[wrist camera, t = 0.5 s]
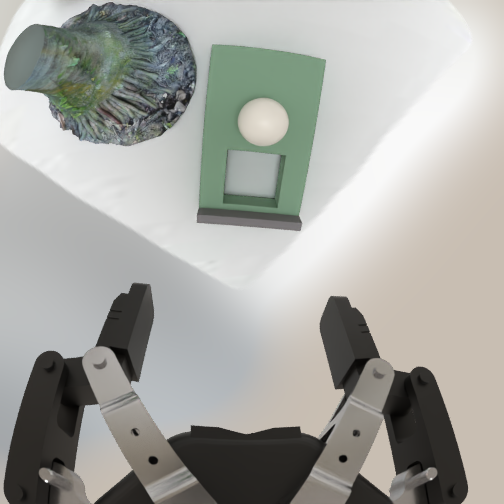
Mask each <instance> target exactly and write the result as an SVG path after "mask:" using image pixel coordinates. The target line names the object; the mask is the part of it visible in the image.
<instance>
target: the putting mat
mask: <svg viewBox="0 0 504 504" xmlns="http://www.w3.org/2000/svg"><path fill="white" fill-rule="evenodd" d="M325 63H326V60H324V59H320V58H315V57H310V56H305V55H300V54H295V53H289V52H283V51H276V50H269V49H261V48H253V47H243V46H230V45H212V52H211V60H210V69H209V78H208V87H207V97H206V108H205V120H204V132H203V146H202V161H201V178H200V198H199V210H198V213H197V223H208V224H222V225H235V226H248V227H261V228H272V229H284V230H295V231H300V230H301V226H302V222H301V220H300V218H299V212H300V208H301V203H302V197H303V192H304V187H305V182H306V177H307V172H308V166H309V161H310V155H311V150H312V144H313V138H314V133H315V127H316V121H317V115H318V109H319V103H320V96H321V90H322V84H323V77H324V70H325ZM257 98H270V99H273V100H275V101H277V102H278V103H280V104H281V105H282V106H283V107H284V109H285V110H286V112H287V115H288V119H289V126H288V130H287V132H286V134H285V136H284V137H283V138H282V139H281V140H280V141H279V142H277V143H275V144H273V145H270V146H257V145H254V144H252V143H250V142H248V141H247V140H246V139H245V138H244V137H243V136H242V134H241V133H240V130H239V127H238V116H239V113H240V111H241V109H242V108H243V107H244V105H245V104H247V103H248V102H249V101H251V100H254V99H257ZM228 149H229V150H240V151H251V152H261V153H270V154H278V155H281V161H280V168H279V174H278V180H277V187H276V193H275V199H272V198H261V197H250V196H239V195H226V194H224V185H225V173H226V162H227V152H228Z"/></svg>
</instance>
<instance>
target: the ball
mask: <svg viewBox="0 0 504 504" xmlns="http://www.w3.org/2000/svg"><path fill="white" fill-rule="evenodd" d="M288 126H289V119H288V115H287V112H286V110H285V109H284V107H283V106H282V105H281V104H280V103H278V102H277V101H275V100H273V99H270V98H257V99H254V100H251V101H249V102H248V103H247V104H245V105H244V107H243V108H242V109H241V111H240V113H239V116H238V127H239V130H240V133H241V134H242V136H243V137H244V138H245V139H246V140H247V141H248V142H250V143H252V144H254V145H257V146H270V145H273V144H275V143H277V142H279V141H280V140H281V139H282V138H283V137H284V136H285V134H286V132H287V130H288Z"/></svg>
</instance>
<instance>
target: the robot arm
mask: <svg viewBox="0 0 504 504" xmlns="http://www.w3.org/2000/svg"><path fill="white" fill-rule="evenodd" d="M153 319H154V307H153V300H152V293H151V287H150V284H142V283H133V284H132V286H131V288H130V291H129V293H128V294H125V293H121V294H120V295H119V296H118V297H117V298H116V299H115V300H114V301H113V304H112V306H111V309H110V312H109V313H108V316H107V319H106V321H105V324H104V326H103V329H102V331H101V334H100V337H99V339H98V342H97V344H96V346H95V347H94V348H92V349H90V350H89V351H87V352H86V353H85V355H84V356H83V357H78V358H67V359H63V357H62V356H61V355H60V354H59V353H58V352H55V351H46V352H44V353H42V354H41V355H40V356H39V357H38V358H37V359H36V361H35V364H34V367H33V370H32V372H31V375H30V378H29V381H28V384H27V387H26V390H25V393H24V396H23V399H22V403H21V406H20V409H19V413H18V417H17V421H16V424H15V428H14V433H13V436H12V441H11V445H10V450H9V455H8V461H7V466H6V472H5V480H4V494H5V497H6V499H7V500H8V502H9V503H10V504H91V503H90V502H89V500H88V499H87V496H86V493H85V486H84V483H83V481H82V479H81V478H80V477H79V476H78V475H77V474H76V473H74V468H75V460H76V452H77V446H78V440H79V434H80V428H81V423H82V417H83V412H84V407H85V405H94V404H99V405H100V408H101V409H100V410H101V413H102V415H103V417H104V419H105V421H106V423H107V425H108V427H109V429H110V431H111V433H112V435H113V436H114V438H115V440H116V442H117V444H118V445H119V447H120V449H121V451H122V453H123V454H124V456H125V458H126V459H127V461H128V462H129V464H130V466H131V467H132V469H133V470H132V471H131V472H130V473H129V474H128V475H126V477H124V478H123V479H122V480H121V481H120V482H118V483H117V484H116V485H115V486H114V487H112V488H111V489H110V490H109V491H108V492H106V493H105V494H104V495H103V496H102V497H100V498H99V499H98V500H97V501H96V502H95V503H94V504H461V503H462V502H463V501H464V499H465V498H466V496H467V493H468V484H467V480H466V475H465V471H464V467H463V463H462V459H461V455H460V451H459V448H458V444H457V441H456V438H455V434H454V431H453V428H452V425H451V421H450V418H449V415H448V413H447V410H446V407H445V404H444V401H443V398H442V396H441V393H440V390H439V387H438V385H437V382H436V380H435V377H434V375H433V374H432V373H431V371H429V370H428V369H427V368H424V367H416V368H414V369H413V370H412V371H411V373H406V372H401V371H396V370H393V367H392V366H391V365H390V364H389V363H388V362H387V361H385V360H383V359H381V358H380V356H379V353H378V351H377V348H376V346H375V343H374V341H373V338H372V336H371V334H370V333H369V332H370V331H369V328H368V326H367V324H366V321H365V319H364V317H363V315H362V314H361V313H360V312H359V311H358V310H357V309H356V308H352V307H351V305H350V302H349V300H348V298H347V297H340V296H331V297H330V298H329V300H328V302H327V305H326V307H325V310H324V312H323V315H322V317H321V321H320V333H321V336H322V340H323V344H324V347H325V351H326V355H327V359H328V363H329V367H330V370H331V375H332V379H333V382H334V386H335V389H344V391H345V394H344V396H343V397H342V399H341V401H340V403H339V404H338V406H337V408H336V410H335V412H334V413H333V415H332V417H331V419H330V421H329V422H328V424H327V426H326V427H325V429H324V430H323V431H322V433H321V434H320V435H319V437H318V438H316V437H313V436H311V435H308V434H304V433H301V431H300V427H283V428H272V429H268V430H264V431H260V432H256V433H251V434H242V433H238V432H234V431H230V430H226V429H223V428H219V427H204V426H191V431H190V432H185V433H181V434H178V435H175V436H173V437H171V438H169V439H167V440H166V439H165V438H164V436H163V435H162V434H161V432H160V430H159V429H158V427H157V426H156V424H155V423H154V421H153V420H152V418H151V416H150V415H149V413H148V412H147V410H146V408H145V407H144V405H143V403H142V402H141V400H140V398H139V397H138V395H137V394H136V393H135V392H134V390H133V388H132V386H131V381H136V382H139V379H140V374H141V369H142V365H143V361H144V356H145V352H146V348H147V344H148V340H149V336H150V331H151V328H152V324H153ZM383 418H384V419H385V423H386V428H387V432H388V436H389V441H390V445H391V450H392V455H393V460H394V465H395V471H396V477H395V478H394V479H393V481H392V484H391V488H390V490H389V492H390V497H388V496H387V495H385V494H384V493H383V492H382V491H380V490H379V489H378V488H377V487H375V486H374V485H373V484H372V483H370V482H369V481H368V480H367V479H365V478H364V477H363V476H362V475H361V474H360V473H359V471H360V469H361V467H362V465H363V463H364V461H365V459H366V457H367V455H368V453H369V451H370V449H371V446H372V444H373V442H374V440H375V437H376V435H377V433H378V430H379V428H380V425H381V423H382V421H383Z"/></svg>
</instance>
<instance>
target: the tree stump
mask: <svg viewBox="0 0 504 504" xmlns="http://www.w3.org/2000/svg"><path fill="white" fill-rule="evenodd" d="M4 80H5V84H6V86H7V87H8V88H9V89H10V90H25V91H32V92H40V93H43V94H44V95H45V96H47V97H48V98H49V103H50V105H49V108H50V110H51V112H52V116H53V117H54V118H56V119H57V120H58V121H59V122H60V128H62V129H63V131H64V130H69V129H70V130H72V133H73V135H76V136H77V137H79V140H80V141H82V140H87V141H89V142H93V143H95V144H99V143H105V144H109V143H113V144H116V145H123V146H131V145H134V144H137V143H140V142H142V141H145V140H148V139H151V138H154V137H158V136H161V135H162V134H163V133H164V132H165V131H166V130H167V129H168V128H170V127H172V126H173V124H174V123H175V122H176V121H177V120H178V119H179V117H180V116H181V114H182V113H184V111H185V109H186V107H187V105H188V103H189V100H190V98H191V96H192V94H193V91H194V87H195V83H196V66H195V62H194V59H193V56H192V53H191V50H190V47H189V43H188V40H187V37H186V36H185V35H184V34H183V33H182V32H181V31H180V30H179V29H178V28H177V27H176V25H175V24H174V23H173V22H171V21H170V20H168V19H167V18H165V17H164V16H162V15H160V14H159V13H157V12H153V11H150V10H148V9H146V8H142V7H137V5H136V6H135V5H128V6H125V5H121V4H119V5H115V4H114V3H113V2H109V3H106V4H104V5H102V6H97V5H95V4H93V5H92V6H91V7H89V9H88V10H87V11H85V12H83V13H81V14H79V15H76V16H74V17H72V18H70V19H69V20H68V21H66V22H65V23H64V24H63V25H62V26H61V28H56V27H53V26H47V25H39V24H34V25H31V26H29V27H28V28H26V29H25V30H24V31H23V32H22V33H21V34H20V35H19V37H18V38H17V39H16V40H15V42H14V44H13V45H12V47H11V49H10V50H9V52H8V55H7V59H6V63H5V68H4ZM164 93H167V97H166V99H165V97H163V94H164ZM162 100H163V103H161V101H162Z"/></svg>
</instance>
